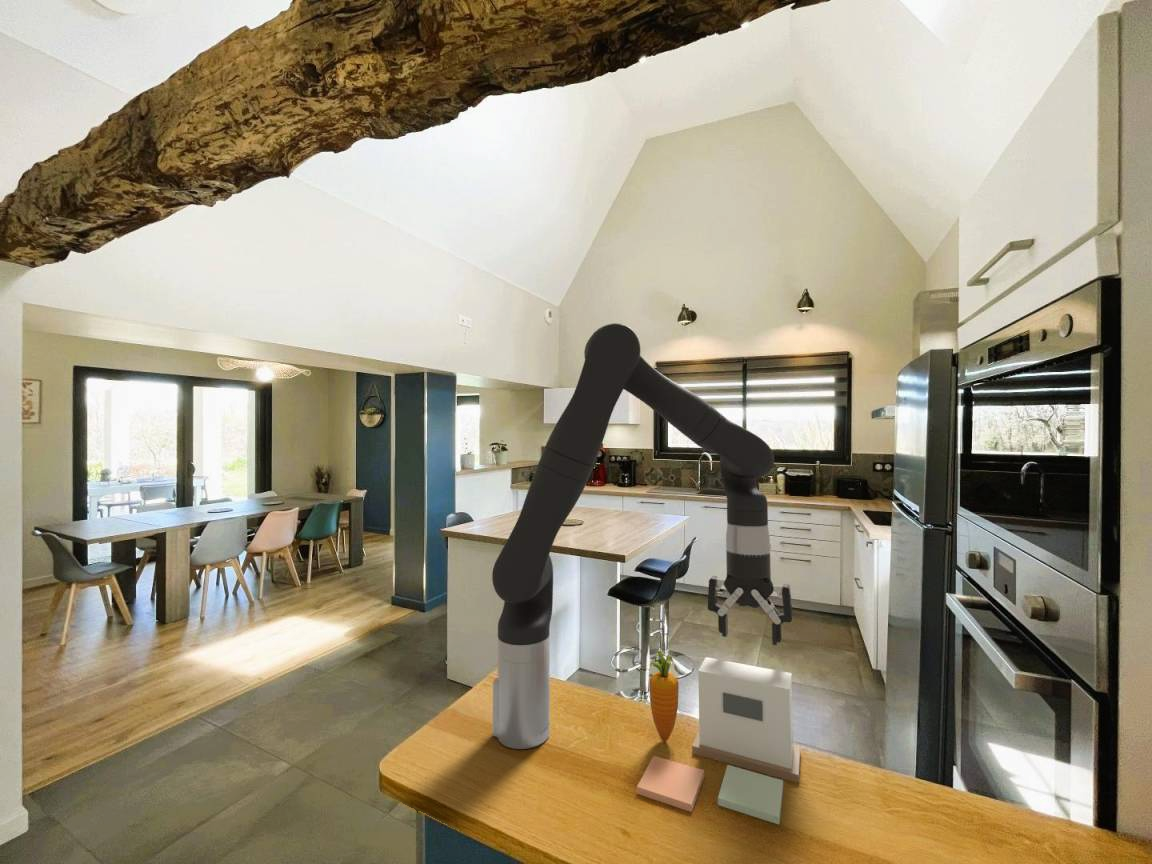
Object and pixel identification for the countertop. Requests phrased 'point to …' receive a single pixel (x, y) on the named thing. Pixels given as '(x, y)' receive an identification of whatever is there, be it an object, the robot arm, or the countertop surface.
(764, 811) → the sage tile
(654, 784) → the terracotta tile
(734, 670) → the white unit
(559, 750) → the countertop surface
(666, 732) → the carrot
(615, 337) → the robot arm
